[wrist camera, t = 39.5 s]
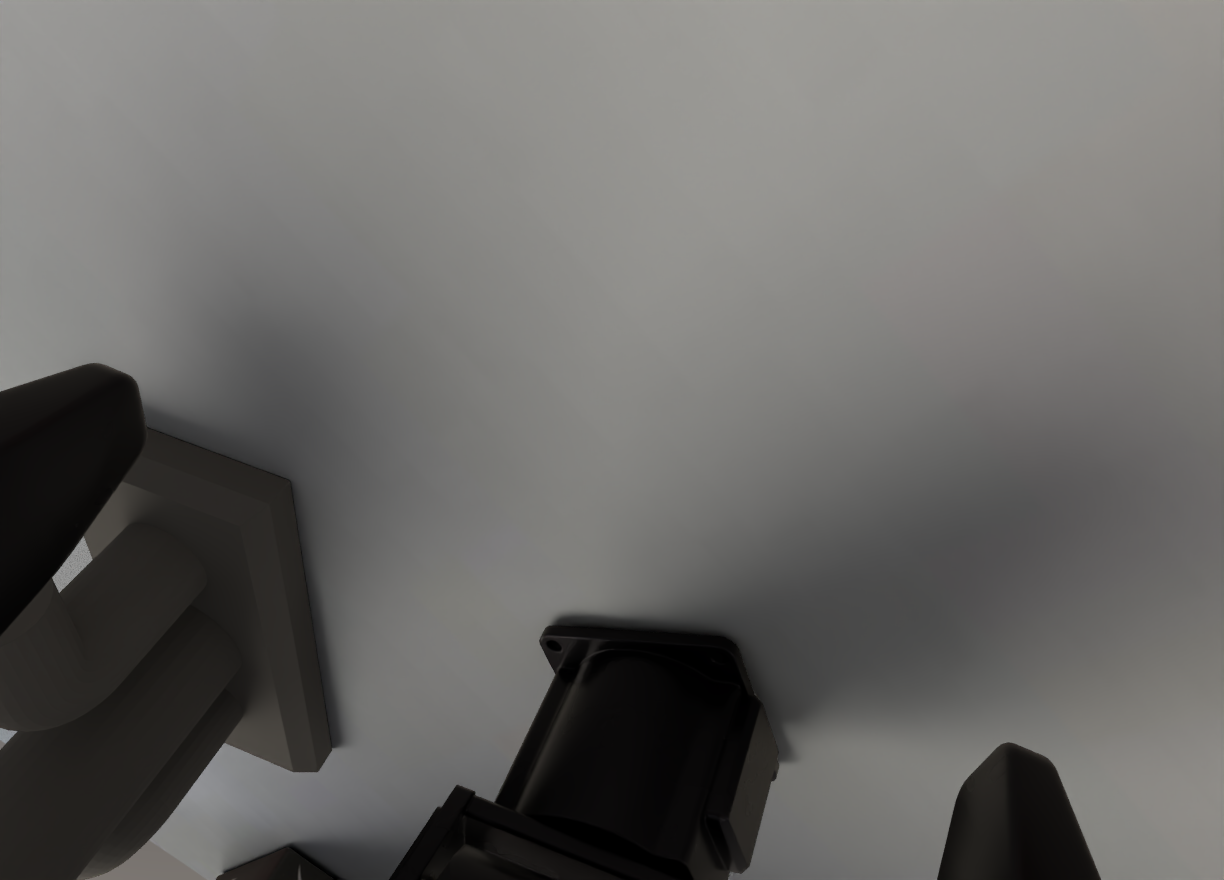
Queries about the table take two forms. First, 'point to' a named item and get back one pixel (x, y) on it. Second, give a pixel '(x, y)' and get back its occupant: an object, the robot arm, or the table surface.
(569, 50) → the table surface
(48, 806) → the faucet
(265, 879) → the headset box
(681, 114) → the table surface
